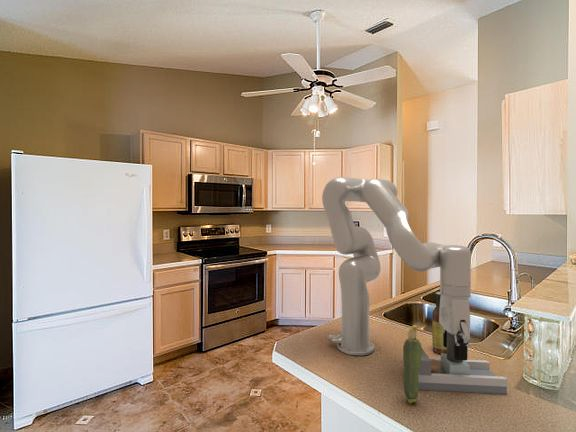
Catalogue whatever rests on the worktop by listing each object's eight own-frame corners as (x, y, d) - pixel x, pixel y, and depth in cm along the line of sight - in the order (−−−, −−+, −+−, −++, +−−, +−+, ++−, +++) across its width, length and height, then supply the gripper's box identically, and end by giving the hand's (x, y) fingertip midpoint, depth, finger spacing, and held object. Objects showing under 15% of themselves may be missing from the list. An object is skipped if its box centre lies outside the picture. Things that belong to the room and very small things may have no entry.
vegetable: (400, 396, 82) (400, 320, 81) (416, 395, 82) (416, 319, 82) (408, 407, 77) (408, 326, 77) (425, 406, 78) (425, 326, 77)
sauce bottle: (455, 356, 103) (455, 296, 103) (434, 355, 105) (435, 295, 104) (449, 347, 110) (449, 291, 109) (430, 346, 111) (430, 290, 110)
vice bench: (415, 389, 85) (415, 360, 85) (405, 370, 95) (405, 344, 95) (506, 394, 82) (507, 364, 82) (487, 374, 92) (487, 347, 92)
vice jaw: (450, 379, 85) (450, 335, 85) (440, 366, 92) (441, 326, 92) (469, 380, 85) (469, 336, 85) (458, 367, 92) (459, 326, 91)
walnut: (428, 376, 87) (428, 365, 87) (423, 369, 91) (423, 358, 91) (443, 377, 87) (443, 366, 87) (438, 370, 91) (438, 359, 91)
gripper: (430, 282, 97) (430, 339, 97) (453, 298, 80) (453, 368, 80) (456, 282, 96) (455, 340, 97) (485, 299, 79) (484, 369, 79)
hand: (454, 352), depth 88 cm, fingers open, 7 cm apart
